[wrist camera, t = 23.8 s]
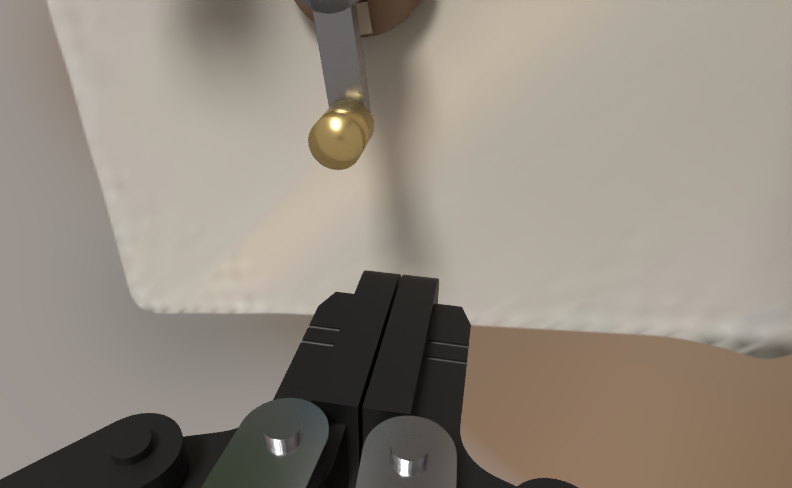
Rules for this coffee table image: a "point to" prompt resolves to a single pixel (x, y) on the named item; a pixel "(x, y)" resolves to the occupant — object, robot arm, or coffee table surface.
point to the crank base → (376, 14)
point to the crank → (340, 86)
